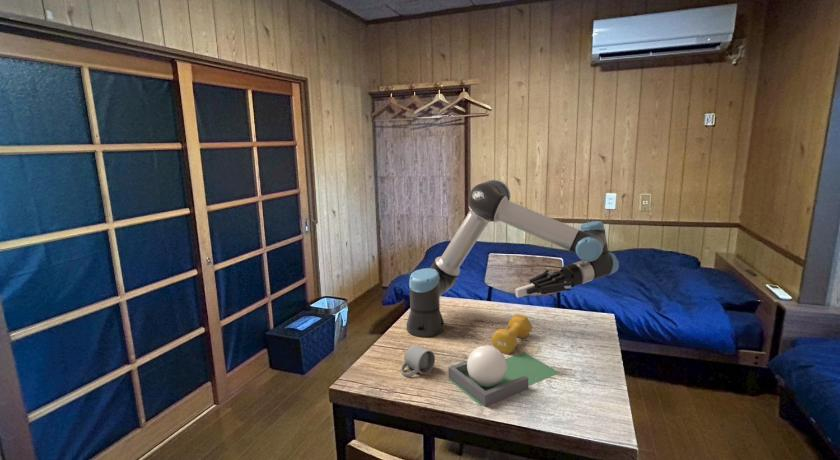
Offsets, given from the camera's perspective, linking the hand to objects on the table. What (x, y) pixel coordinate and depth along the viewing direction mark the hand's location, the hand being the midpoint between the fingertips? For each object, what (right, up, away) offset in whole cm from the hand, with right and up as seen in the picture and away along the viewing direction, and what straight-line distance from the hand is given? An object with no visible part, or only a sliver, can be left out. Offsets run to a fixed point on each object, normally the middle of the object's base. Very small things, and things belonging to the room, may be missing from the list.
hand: (516, 293), depth 139 cm
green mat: (-5, -26, -4) cm, 27 cm away
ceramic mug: (-33, -26, +1) cm, 42 cm away
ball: (-11, -21, -10) cm, 25 cm away
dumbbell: (+2, -21, +18) cm, 28 cm away
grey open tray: (-10, -26, -7) cm, 29 cm away
